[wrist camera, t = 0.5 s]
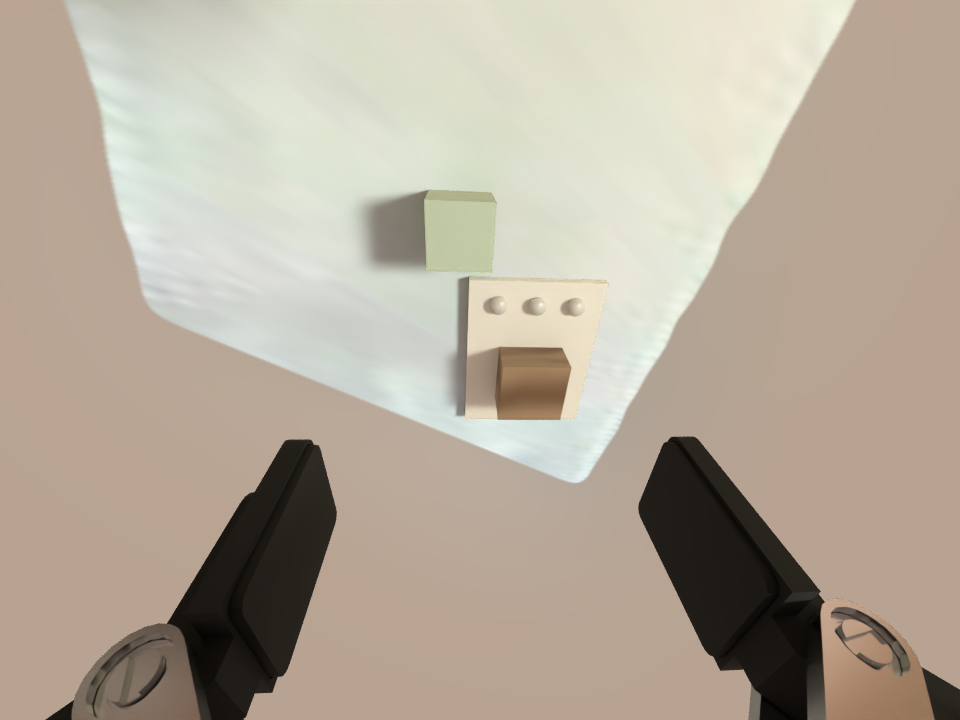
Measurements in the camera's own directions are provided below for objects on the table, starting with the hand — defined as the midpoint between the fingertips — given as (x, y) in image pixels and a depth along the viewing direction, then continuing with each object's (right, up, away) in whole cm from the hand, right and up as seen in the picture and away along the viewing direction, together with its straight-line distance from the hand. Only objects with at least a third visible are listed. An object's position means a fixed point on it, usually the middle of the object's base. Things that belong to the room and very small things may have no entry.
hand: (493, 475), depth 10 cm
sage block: (-2, +16, +23) cm, 28 cm away
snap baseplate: (+5, +4, +31) cm, 32 cm away
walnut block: (+5, +2, +31) cm, 32 cm away
